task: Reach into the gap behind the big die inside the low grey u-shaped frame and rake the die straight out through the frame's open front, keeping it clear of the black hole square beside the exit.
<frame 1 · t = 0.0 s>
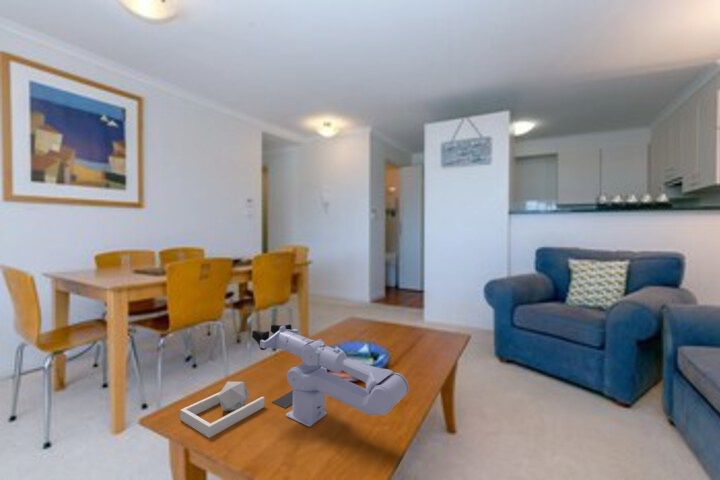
hand: (262, 330, 107), 22 cm above the table, tool horizontal, fingers open, 7 cm apart
hole mat: (290, 398, 106), on the table
grey u-shaped frame: (224, 412, 97), on the table
die: (233, 409, 100), on the table
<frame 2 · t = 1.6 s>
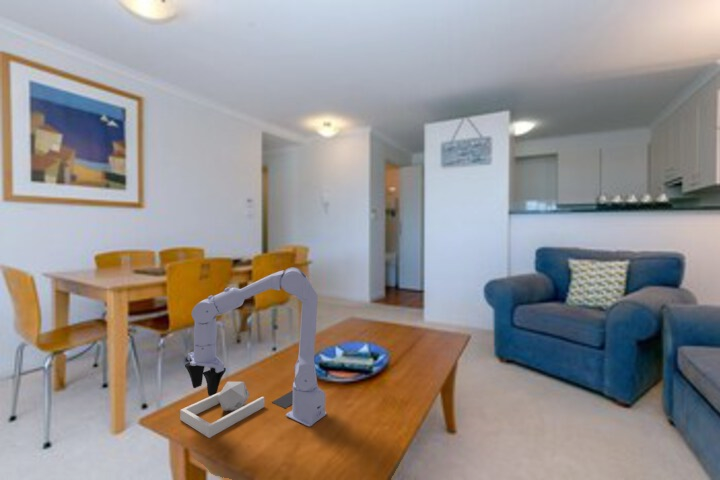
hand: (204, 390, 92), 9 cm above the table, tool pointing down, fingers open, 7 cm apart
nothing on the table moved.
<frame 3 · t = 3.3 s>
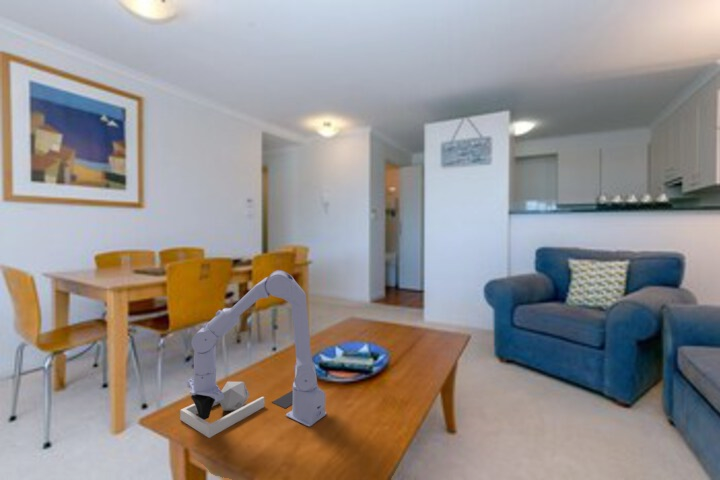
hand: (204, 418, 92), 1 cm above the table, tool pointing down, fingers closed
nothing on the table moved.
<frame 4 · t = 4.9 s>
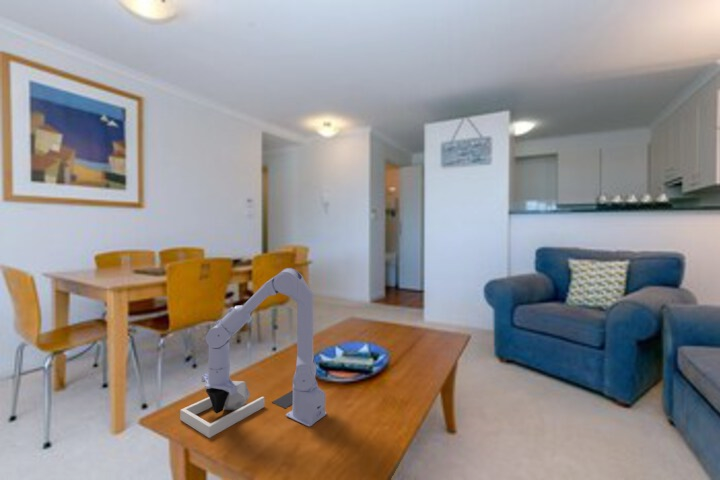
hand: (218, 411, 96), 1 cm above the table, tool pointing down, fingers closed, pressing on die
die: (234, 408, 100), on the table, touching gripper
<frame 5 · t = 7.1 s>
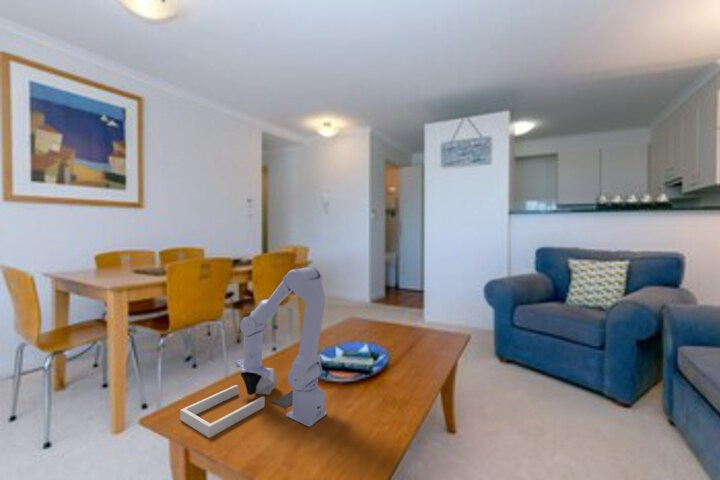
hand: (251, 393, 106), 2 cm above the table, tool pointing down, fingers closed, pressing on die
die: (263, 392, 110), on the table, touching gripper
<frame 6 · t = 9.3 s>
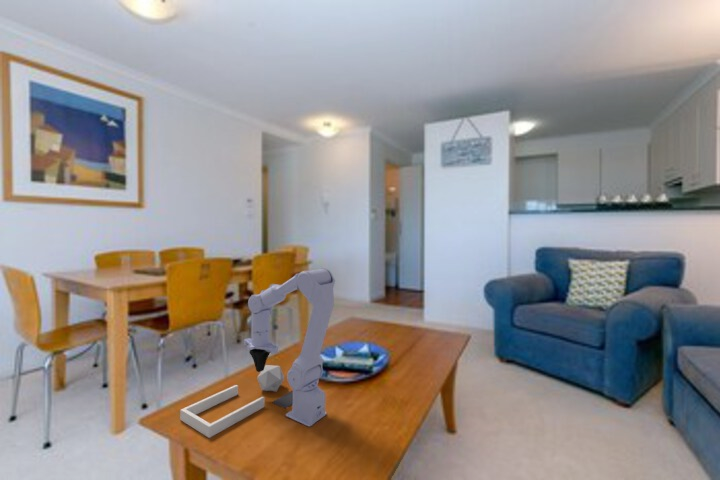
hand: (260, 370, 108), 8 cm above the table, tool pointing down, fingers closed
die: (270, 389, 113), on the table
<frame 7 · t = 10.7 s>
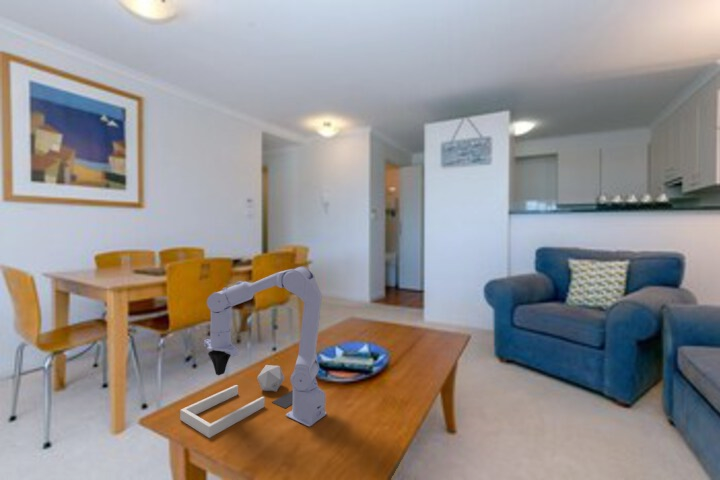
hand: (220, 373, 100), 10 cm above the table, tool pointing down, fingers closed
nothing on the table moved.
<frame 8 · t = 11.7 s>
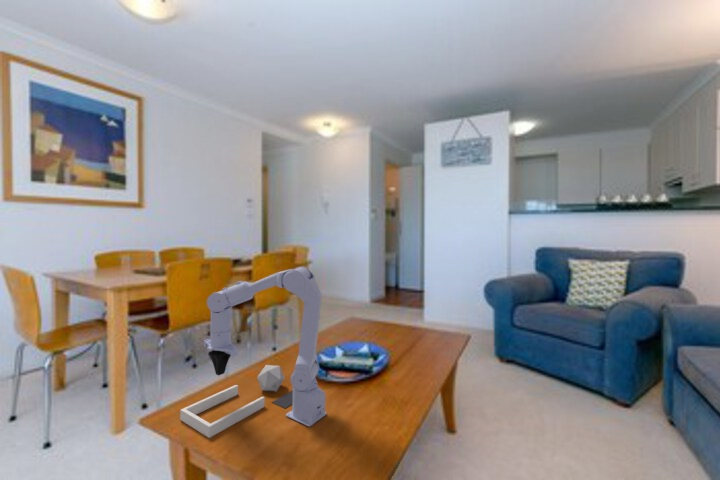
hand: (220, 373, 100), 10 cm above the table, tool pointing down, fingers closed
nothing on the table moved.
at the end: die inside the target area (0.6 cm from its centre), on the table; die tilted 0°; die touching table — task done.
